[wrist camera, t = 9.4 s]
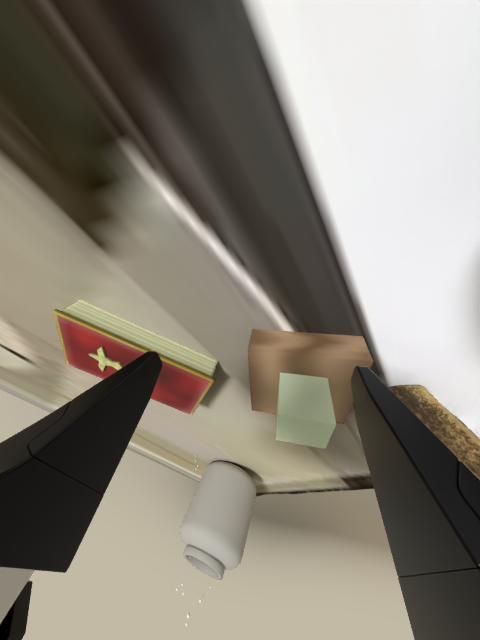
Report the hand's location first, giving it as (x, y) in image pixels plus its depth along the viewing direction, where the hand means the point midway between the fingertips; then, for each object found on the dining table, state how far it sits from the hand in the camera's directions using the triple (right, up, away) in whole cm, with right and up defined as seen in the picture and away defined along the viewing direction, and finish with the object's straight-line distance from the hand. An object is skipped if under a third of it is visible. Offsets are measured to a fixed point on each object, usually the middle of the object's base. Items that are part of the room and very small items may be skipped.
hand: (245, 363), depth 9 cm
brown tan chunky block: (+24, -9, +17) cm, 31 cm away
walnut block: (+8, -4, +18) cm, 20 cm away
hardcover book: (-15, -3, +23) cm, 27 cm away
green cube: (+7, -6, +14) cm, 17 cm away
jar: (-4, -38, +47) cm, 60 cm away
